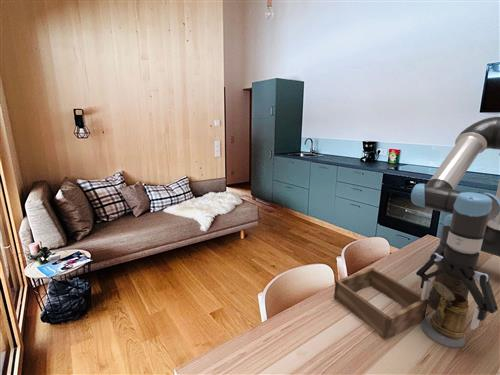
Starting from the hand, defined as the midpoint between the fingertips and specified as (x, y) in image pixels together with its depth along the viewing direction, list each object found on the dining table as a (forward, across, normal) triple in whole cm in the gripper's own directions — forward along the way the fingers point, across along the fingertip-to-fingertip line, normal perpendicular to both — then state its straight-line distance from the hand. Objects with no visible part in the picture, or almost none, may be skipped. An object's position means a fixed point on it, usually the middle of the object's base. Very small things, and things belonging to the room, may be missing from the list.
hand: (447, 312), depth 81 cm
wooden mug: (+7, 0, 0) cm, 7 cm away
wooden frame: (+8, -17, -8) cm, 20 cm away
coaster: (+8, 0, 0) cm, 8 cm away
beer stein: (+8, -8, +15) cm, 19 cm away
